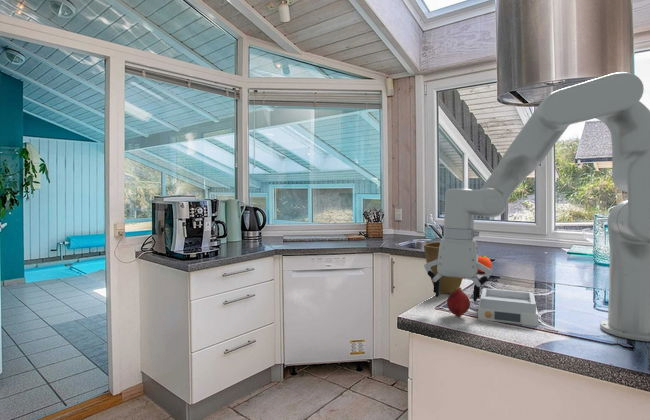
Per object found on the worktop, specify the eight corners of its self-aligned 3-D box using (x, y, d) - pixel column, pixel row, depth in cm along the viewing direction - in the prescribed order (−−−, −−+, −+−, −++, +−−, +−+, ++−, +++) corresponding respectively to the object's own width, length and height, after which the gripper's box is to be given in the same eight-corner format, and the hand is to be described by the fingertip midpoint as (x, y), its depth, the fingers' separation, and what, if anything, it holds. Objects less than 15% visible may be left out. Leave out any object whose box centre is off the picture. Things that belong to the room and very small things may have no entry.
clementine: (482, 270, 173) (482, 253, 172) (496, 272, 167) (496, 255, 167) (470, 271, 168) (470, 255, 168) (484, 274, 163) (485, 257, 162)
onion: (455, 321, 103) (455, 290, 102) (442, 314, 108) (442, 285, 108) (474, 319, 104) (474, 288, 104) (460, 312, 110) (461, 284, 110)
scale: (534, 311, 111) (534, 292, 111) (538, 326, 98) (538, 305, 98) (481, 305, 117) (481, 287, 117) (477, 319, 104) (478, 299, 104)
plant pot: (434, 284, 145) (434, 240, 145) (475, 290, 136) (475, 244, 135) (415, 291, 134) (416, 244, 133) (459, 299, 124) (459, 248, 124)
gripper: (493, 235, 105) (491, 298, 106) (428, 231, 113) (426, 291, 113) (493, 238, 99) (490, 306, 99) (422, 233, 106) (420, 297, 106)
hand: (456, 297), depth 106 cm, fingers open, 9 cm apart
